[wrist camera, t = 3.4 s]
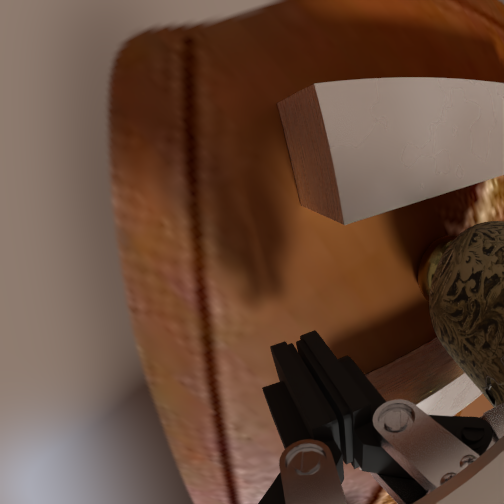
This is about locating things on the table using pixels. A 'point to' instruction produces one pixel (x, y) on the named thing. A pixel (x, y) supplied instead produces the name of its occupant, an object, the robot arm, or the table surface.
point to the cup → (469, 302)
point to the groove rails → (397, 180)
